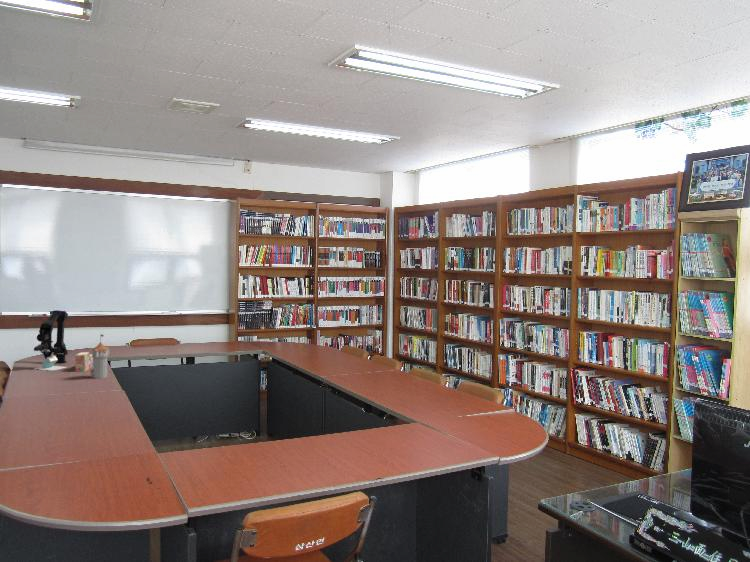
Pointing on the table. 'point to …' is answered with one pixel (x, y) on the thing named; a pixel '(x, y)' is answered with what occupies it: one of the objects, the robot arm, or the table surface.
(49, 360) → the turquoise box
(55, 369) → the mat
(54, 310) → the robot arm
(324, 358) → the table surface
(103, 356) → the model building
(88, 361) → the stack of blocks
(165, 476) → the table surface
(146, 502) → the table surface
